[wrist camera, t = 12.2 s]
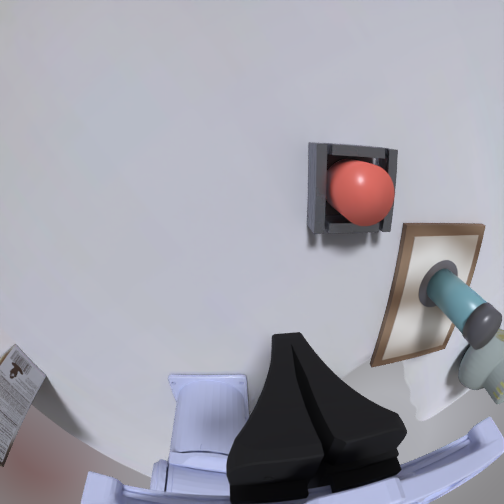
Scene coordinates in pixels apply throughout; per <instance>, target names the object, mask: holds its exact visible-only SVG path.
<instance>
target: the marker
mask: <svg viewBox="0 0 504 504" xmlns="http://www.w3.org/2000/svg"><path fill="white" fill-rule="evenodd" d="M427 295H428V297H429V298H430V299H431V300H432V301H433V302H434V303H435V304H436V305H437V306H438V307H439V308H440V310H441V311H442V312H443V313H444V314H445V315H446V316H447V317H448V318H449V319H450V320H451V321H452V323H453V324H454V325H455V326H456V327H457V328H458V329H459V330H460V332H461V333H462V334H463V337H464V338H465V339H466V340H467V341H468V343H469V344H470V345H471V346H472V347H473V349H475V350H478V349H481V348H483V347H484V346H485V345H487V344H488V343H489V342H490V341H491V340H492V338H493V337H494V336H495V334H496V333H497V331H498V329H499V327H500V325H501V322H502V315H501V313H499V312H498V311H497V310H496V309H495V308H494V307H493V306H492V305H491V304H490V303H487V302H486V301H485V300H484V299H483V298H481V297H480V296H479V295H478V294H477V293H476V292H475V291H474V290H472V289H471V288H470V287H469V286H468V285H467V284H465V283H464V282H463V281H462V280H461V279H460V278H458V277H457V276H456V275H455V274H454V273H452V272H451V271H450V270H449V269H441V270H439V271H437V272H436V273H435V274H434V275H433V276H432V277H431V279H430V281H429V283H428V286H427Z"/></svg>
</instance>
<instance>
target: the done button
mask: <svg viewBox="0 0 504 504" xmlns="http://www.w3.org/2000/svg"><path fill="white" fill-rule="evenodd" d="M394 193H395V192H394V185H393V182H392V179H391V177H390V176H389V174H388V173H387V172H386V171H385V170H384V169H383V168H381V167H379V166H377V165H374V164H370V163H367V162H363V161H359V160H356V159H342V160H340V161H337V162H336V163H334V164H333V165H332V166H331V167H330V168H329V170H328V171H327V178H326V200H327V201H328V203H329V204H330V205H331V206H332V207H333V208H334V209H336V210H337V211H338V212H339V213H340V214H342V215H343V216H344V217H345V218H346V219H348V220H349V221H350V222H352V223H353V224H356V225H359V226H371V225H374V224H376V223H378V222H380V221H381V220H382V219H384V218H385V217H386V215H387V214H388V213H389V211H390V209H391V207H392V205H393V201H394Z"/></svg>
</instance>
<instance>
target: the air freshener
mask: <svg viewBox="0 0 504 504" xmlns="http://www.w3.org/2000/svg"><path fill="white" fill-rule="evenodd" d="M458 377H459V380H460V382H461V383H462V384H463V385H464V386H465V387H467V388H469V389H472V390H479V389H482V388H485V389H486V391H487V392H488V393H489V395H490V396H491V398H492V399H493V400H494V402H495V403H496V404H500V403H502V402H504V330H502V329H500V328H499V329H498V331H497V333H496V334H495V336H494V337H493V338H492V340H491V341H490V342H489V343H488V344H487V345H485V346H484V347H483V348H481V349H478V350H475V349H473V347H472V346H471V345H470V347H469V348H468V350H467V351H466V353H465V355H464V357H463V359H462V361H461V364H460V368H459V376H458Z"/></svg>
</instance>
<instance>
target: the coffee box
mask: <svg viewBox="0 0 504 504" xmlns="http://www.w3.org/2000/svg"><path fill="white" fill-rule="evenodd" d="M45 377H46V375H45V374H44V373H43V372H42V371H41V370H40V369H39V368H38V367H37V366H36V365H35V364H34V363H33V362H32V361H31V360H30V359H29V358H28V357H27V356H26V355H25V354H24V353H23V352H22V351H21V350H20V348H19V347H18V346H17V345H16V344H14V345H13V346H12V347H11V348H10V349H9V350H7V351H6V352H5V353H4V354H3V355H2V356H1V357H0V466H2V467H4V464H5V462H6V459H7V457H8V454H9V452H10V449H11V447H12V444H13V442H14V440H15V437H16V435H17V433H18V431H19V428H20V426H21V424H22V422H23V420H24V418H25V416H26V414H27V412H28V410H29V408H30V406H31V404H32V402H33V400H34V398H35V396H36V394H37V392H38V390H39V389H40V387H41V385H42V383H43V381H44V379H45Z"/></svg>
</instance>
